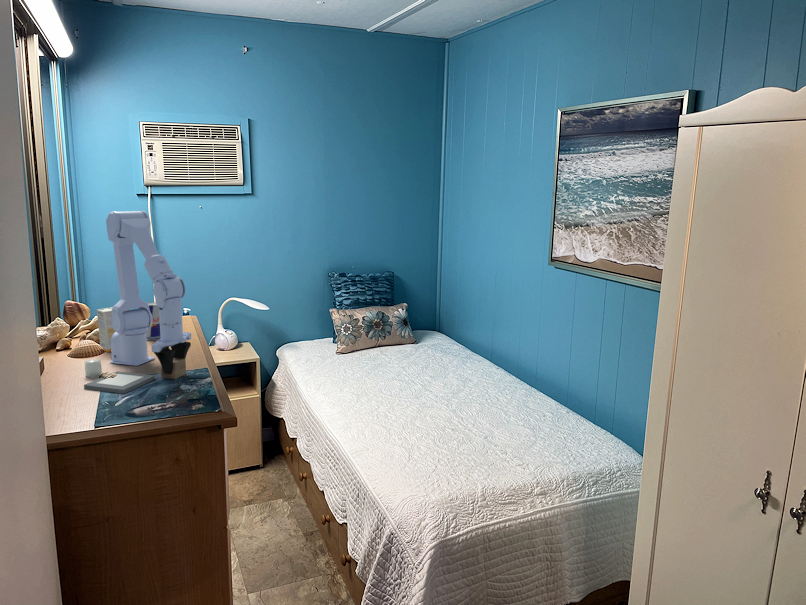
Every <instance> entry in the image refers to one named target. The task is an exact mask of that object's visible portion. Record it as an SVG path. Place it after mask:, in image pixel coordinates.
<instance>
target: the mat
mask: <svg viewBox="0 0 806 605" xmlns="http://www.w3.org/2000/svg"><path fill="white" fill-rule="evenodd" d="M113 373H116V374H117V376H116V377H114V378H107V379H103V378H102V377H100V378H98V379H95V380H93V381H89V382H88V383H85V384H83V389H84V390H85V389H86V390H93V391H101V392H108V393H109V392H110V393H116V394H127V393H128V392H130V391H133V390H135V389H137V388H139V387H141V386H144V385H146V384H148V383H150V382H153V381H154V380H156V375H154V374H144V373H143V374H142V373H137V372H128V371H127V372H126V371H114V372H113Z"/></svg>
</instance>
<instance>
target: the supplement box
mask: <svg viewBox="0 0 806 605" xmlns="http://www.w3.org/2000/svg"><path fill="white" fill-rule="evenodd" d="M112 307H113V306H111V307H103V308H98V309H96V315H97V316H96V317H97V329H98V335H99V336H98V338H99V347H100V346H101V347H102V348H103V349H104V352H106V353H109V352H111V338H112V335H113V334H114V333H115V332H116V331H115V330H114V329H113V327H112V323H111V318H112ZM127 310H130V309H127ZM127 310H125V311H127Z"/></svg>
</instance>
